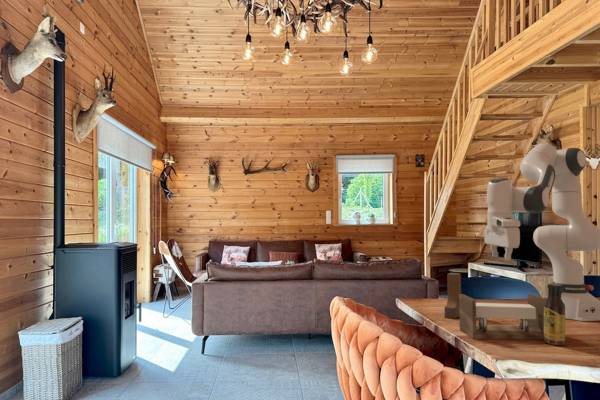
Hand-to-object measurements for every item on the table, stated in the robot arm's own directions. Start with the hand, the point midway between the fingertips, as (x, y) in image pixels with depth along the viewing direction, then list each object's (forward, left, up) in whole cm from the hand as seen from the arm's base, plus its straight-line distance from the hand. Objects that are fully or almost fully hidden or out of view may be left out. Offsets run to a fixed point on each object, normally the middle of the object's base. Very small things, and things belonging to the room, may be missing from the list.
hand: (501, 258), depth 157 cm
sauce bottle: (-10, +15, -27) cm, 33 cm away
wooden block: (+10, -24, -27) cm, 38 cm away
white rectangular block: (+2, +4, -21) cm, 21 cm away
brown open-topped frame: (+2, +4, -27) cm, 27 cm away
